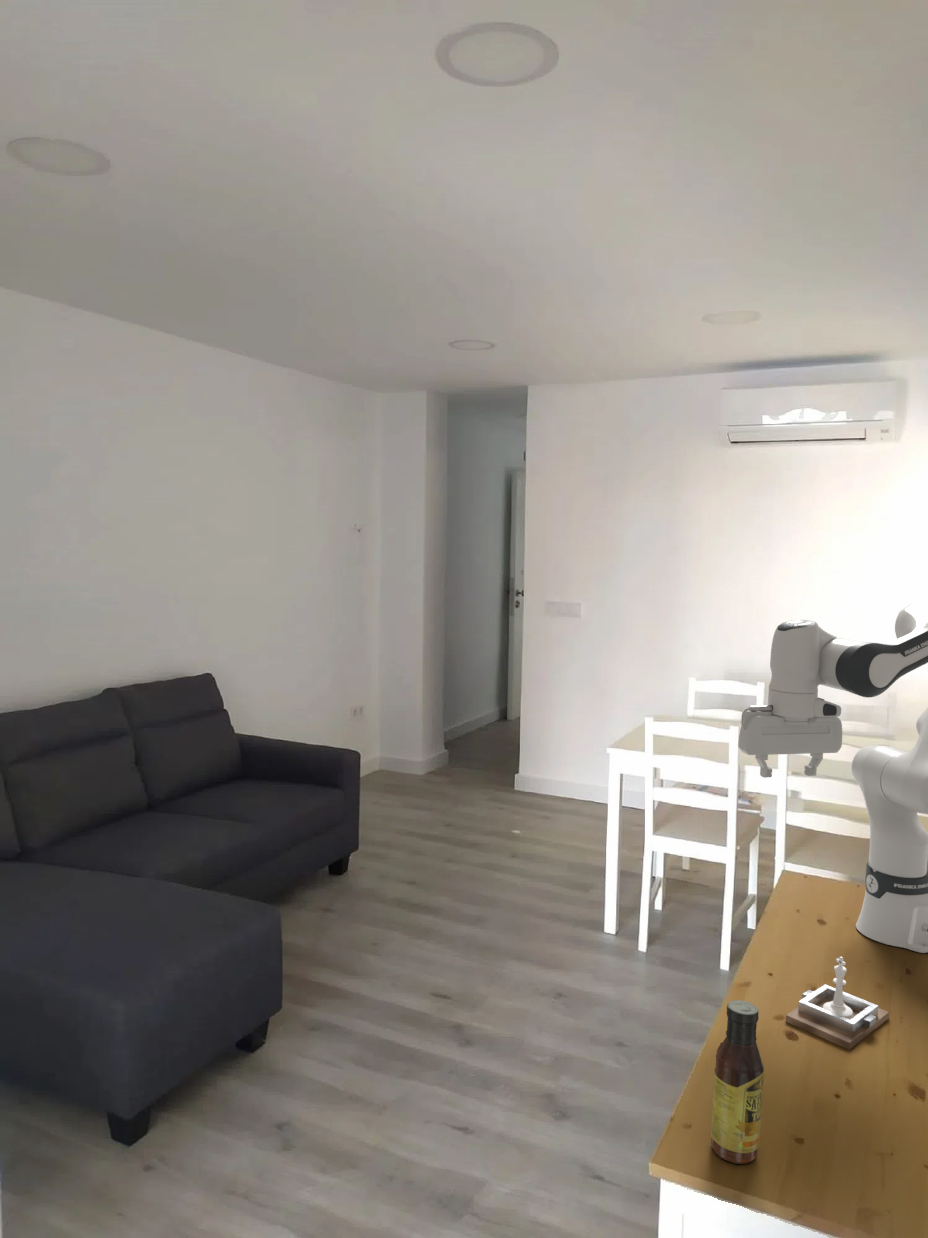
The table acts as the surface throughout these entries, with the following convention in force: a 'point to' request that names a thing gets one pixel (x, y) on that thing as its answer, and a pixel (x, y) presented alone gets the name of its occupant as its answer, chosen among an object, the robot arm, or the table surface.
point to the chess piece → (839, 993)
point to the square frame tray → (850, 1026)
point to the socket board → (833, 1032)
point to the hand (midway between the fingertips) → (788, 776)
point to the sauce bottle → (738, 1087)
